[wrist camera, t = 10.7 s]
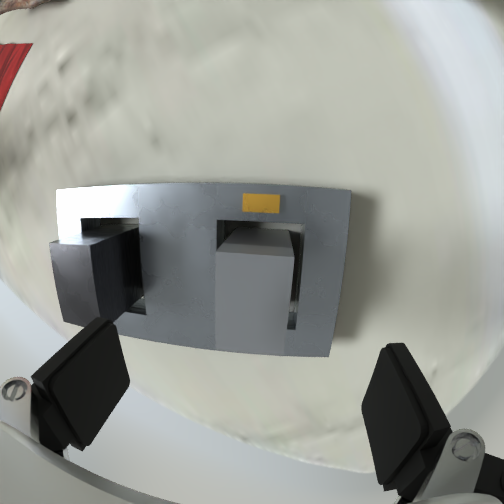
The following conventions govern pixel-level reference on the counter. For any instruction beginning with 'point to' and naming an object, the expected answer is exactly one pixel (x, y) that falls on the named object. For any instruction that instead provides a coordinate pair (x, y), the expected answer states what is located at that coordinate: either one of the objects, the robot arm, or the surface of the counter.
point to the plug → (253, 291)
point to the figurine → (10, 65)
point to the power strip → (191, 257)
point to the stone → (19, 4)
